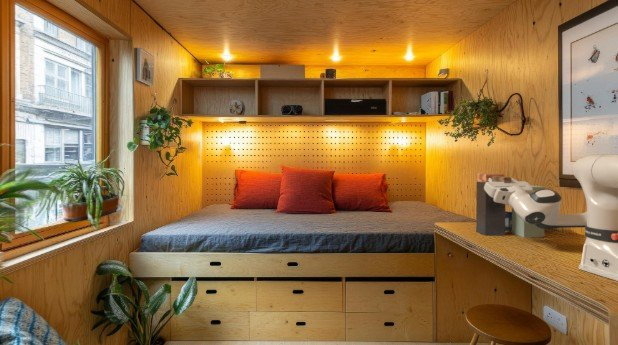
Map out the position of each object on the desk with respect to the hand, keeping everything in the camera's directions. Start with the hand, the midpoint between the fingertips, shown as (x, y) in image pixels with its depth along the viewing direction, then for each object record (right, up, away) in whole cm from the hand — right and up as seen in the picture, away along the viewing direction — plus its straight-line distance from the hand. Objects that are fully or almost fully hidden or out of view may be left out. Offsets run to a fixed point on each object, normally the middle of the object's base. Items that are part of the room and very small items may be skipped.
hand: (499, 178), depth 169 cm
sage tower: (+16, -28, +4) cm, 32 cm away
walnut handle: (0, -2, +4) cm, 4 cm away
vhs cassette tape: (+10, -27, +17) cm, 34 cm away
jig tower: (0, -28, +9) cm, 29 cm away
